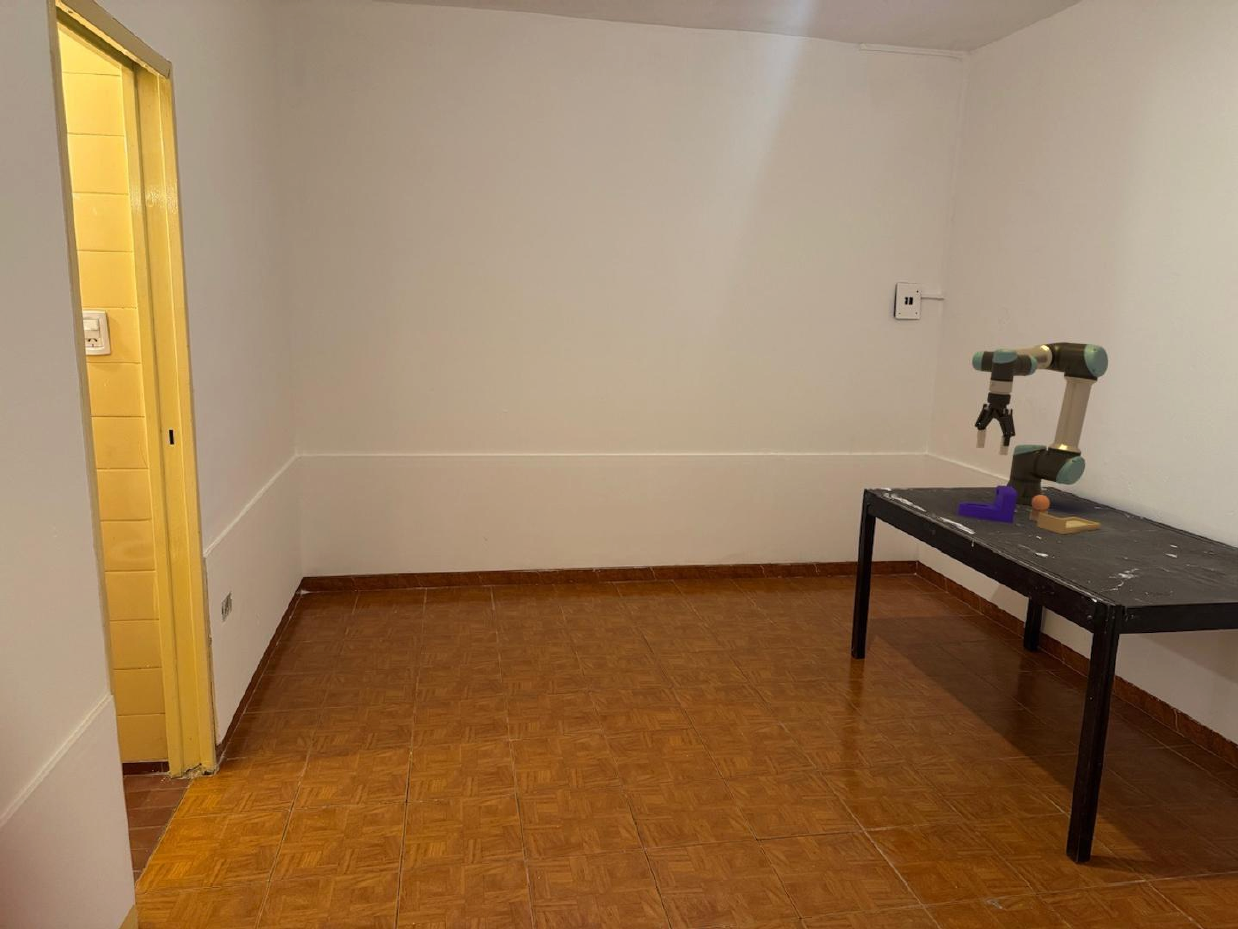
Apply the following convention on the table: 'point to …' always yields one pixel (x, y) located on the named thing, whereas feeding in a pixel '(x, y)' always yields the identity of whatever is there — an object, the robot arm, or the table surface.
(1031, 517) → the open wooden box
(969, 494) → the table surface
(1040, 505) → the ball
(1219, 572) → the table surface
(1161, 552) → the table surface
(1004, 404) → the robot arm
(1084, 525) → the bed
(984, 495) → the table surface
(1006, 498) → the bracket
